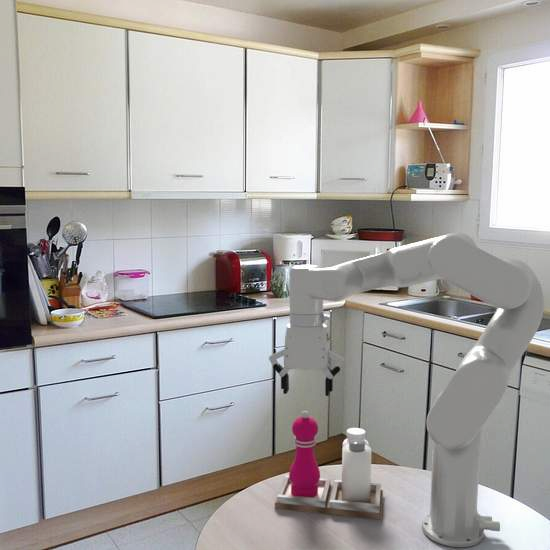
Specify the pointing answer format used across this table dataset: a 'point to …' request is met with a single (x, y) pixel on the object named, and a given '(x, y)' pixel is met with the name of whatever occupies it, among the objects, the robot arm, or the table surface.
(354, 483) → the salt shaker
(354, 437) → the supplement bottle
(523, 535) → the table surface
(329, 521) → the table surface
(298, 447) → the pepper mill
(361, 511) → the rail
